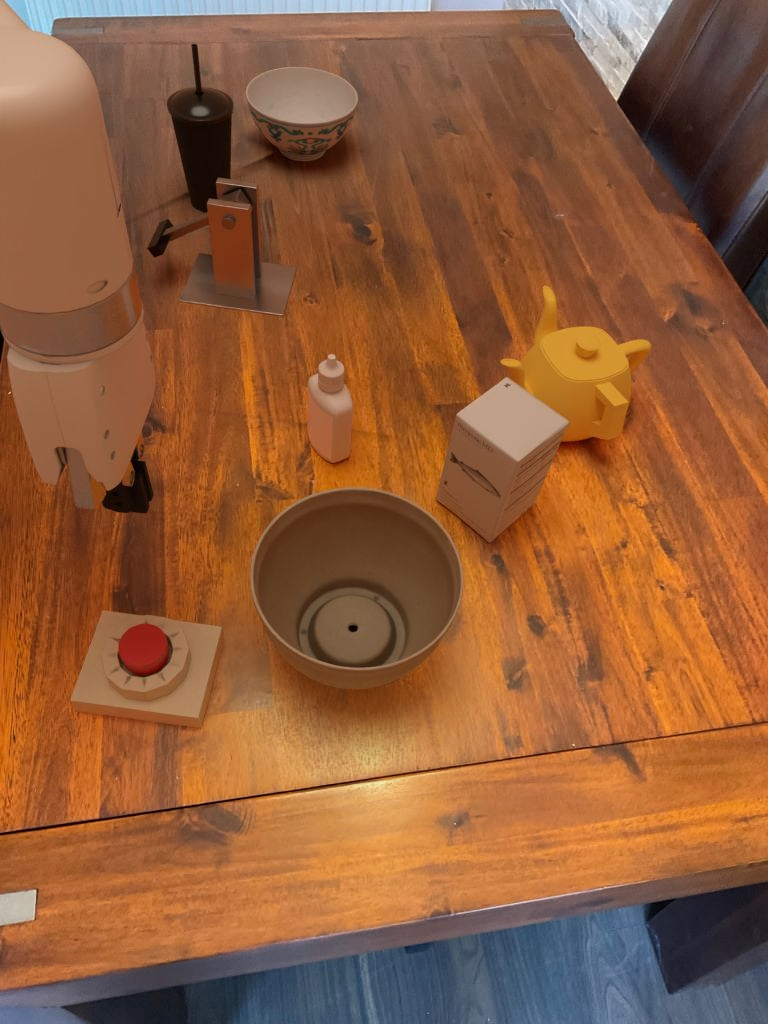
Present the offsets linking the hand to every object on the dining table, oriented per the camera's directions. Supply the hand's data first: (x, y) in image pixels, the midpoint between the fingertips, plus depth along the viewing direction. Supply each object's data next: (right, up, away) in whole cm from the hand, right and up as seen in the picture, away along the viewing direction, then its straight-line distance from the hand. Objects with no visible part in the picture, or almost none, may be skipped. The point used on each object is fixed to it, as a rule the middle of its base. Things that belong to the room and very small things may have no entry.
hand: (129, 502), depth 57 cm
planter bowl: (+15, -12, +12) cm, 23 cm away
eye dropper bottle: (+13, +6, +25) cm, 28 cm away
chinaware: (+7, +51, +57) cm, 76 cm away
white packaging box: (+28, 0, +22) cm, 36 cm away
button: (0, -12, +5) cm, 13 cm away
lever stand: (+1, +25, +37) cm, 45 cm away
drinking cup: (-4, +39, +46) cm, 61 cm away
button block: (-1, -14, +8) cm, 16 cm away
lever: (-1, +30, +31) cm, 43 cm away
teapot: (+37, +11, +30) cm, 49 cm away
